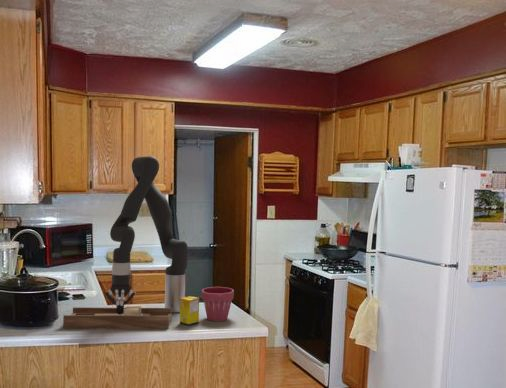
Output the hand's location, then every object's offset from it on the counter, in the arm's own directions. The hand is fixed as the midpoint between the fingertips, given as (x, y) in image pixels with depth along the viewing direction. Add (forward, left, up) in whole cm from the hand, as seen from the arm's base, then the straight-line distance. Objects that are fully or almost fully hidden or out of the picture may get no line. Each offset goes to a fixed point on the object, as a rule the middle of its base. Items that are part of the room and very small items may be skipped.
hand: (120, 314), depth 205 cm
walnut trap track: (0, 0, -4) cm, 4 cm away
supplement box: (-1, +29, -4) cm, 29 cm away
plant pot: (-9, +41, -4) cm, 42 cm away
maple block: (+1, +5, -1) cm, 5 cm away
